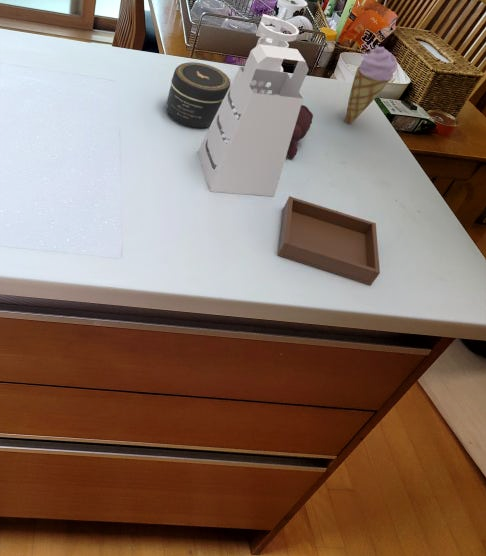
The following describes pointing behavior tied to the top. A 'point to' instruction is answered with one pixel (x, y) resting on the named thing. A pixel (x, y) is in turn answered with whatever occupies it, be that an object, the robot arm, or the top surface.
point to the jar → (196, 94)
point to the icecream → (300, 129)
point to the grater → (254, 126)
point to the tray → (329, 240)
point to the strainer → (273, 43)
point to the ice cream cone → (370, 80)
